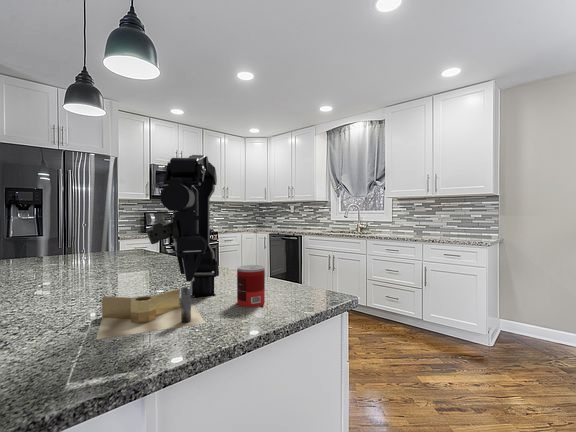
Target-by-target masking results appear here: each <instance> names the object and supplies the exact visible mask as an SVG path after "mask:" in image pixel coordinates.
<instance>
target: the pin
mask: <svg viewBox="0 0 576 432" xmlns="http://www.w3.org/2000/svg"><path fill="white" fill-rule="evenodd" d="M180 289H181V290H180V307H181V323H189V322H191V305H192V294H191V286H183V287H181V288H180Z"/></svg>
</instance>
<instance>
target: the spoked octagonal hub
mask: <svg viewBox="0 0 576 432" xmlns="http://www.w3.org/2000/svg"><path fill="white" fill-rule="evenodd" d="M101 300H102V301H101V302H102V303H101V305H102V306H101V307H102V308H101V309H102V310H101V311H102V313H101V314H102V315H101V316H102V317H101V319H102V318H117V319H131V323H137V324H140V323H147V322H151V321H153V320H155V319H156V316H157V315H160V314H163V313H166V312H169V311H172V310H175V309H178V308H179V307H180V289H179V288H176V289H173V290H169V291H165V292H162V293H158V294H154V295H140V296H136V297H127V296H126V297H125V296H124V297H123V296H102V297H101Z"/></svg>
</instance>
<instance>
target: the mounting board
mask: <svg viewBox="0 0 576 432" xmlns="http://www.w3.org/2000/svg"><path fill="white" fill-rule="evenodd" d="M100 321H101V322H100V324H99V328H98V332H97V335H96V338H95V340H97V341H98V340H102V339H103V340H105V339H111V338H116V337H123V336H131V335H135V334H143V333H149V332H155V331H156V332H157V331H164V330H169V329H176V328H184V327H191V326H195V325H202V324H207V322H206V321H205V319H204V318H203V316H202V315H201V313H200V312H199V311H198V309H197V307H196V306H195V304H191V322H189V323H181V306H179V308H178V309H175V310H172V311H169V312H166V313H163V314H160V315H157V316H156V319H155V320H153V321H151V322H147V323H140V324H137V323H131V319H117V318H102V317H101V320H100Z"/></svg>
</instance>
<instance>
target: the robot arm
mask: <svg viewBox="0 0 576 432" xmlns="http://www.w3.org/2000/svg"><path fill="white" fill-rule="evenodd" d="M208 158H209V157H208V156H207V155H204V154H203V155H201V154H192V155H189V157H171V158H170V160H169V162H167V166H166V169H165V174H164V177H163V185H164V188H163V189H162V190H161V194H160V202H161V204H162V206H163V207H164V208H166V210H168V211H172V215H171V216H170V222H169V221H168V222H166V223H163V224H162V223H161V222H158V223H156V224H152V228H151V227H150V228H149V229H147V230H145V231H146V235H147V237H148V239H149V242H150V244H151V245H155V244H158V243H159V242H160V241H163V240H166V239H167V245H169V248H170V249H172V251H174V253H175V254H176V260H177V263H178V268H179V272H180V275H184V276H185V281H186V282H190V287H191V297H193V298H194V299H201V298H202V299H203V298H208V297H216V296H217V295H216V293H215V278H217V277H219V276H220V270H219V268H220V267H219V262H218V260H217V257H215V255H216V254H215V251H214V249H213V248H212V246H211V244H210V241H211V240H210V239H211V237H210V236H211V235H210V234H211V233H210V230H211V229H210V220H211V219H210V218H211V217H210V216H211V215H210V213H211V212H210V210H211V209H210V207H211V206H210V199H211V197H212V196H213V194H214V193H215V189H216V186H217V184H218V183H217V182H218V179H217V178H218V176H217V170H216V167H215V166H214V165H213V164H212V163H211V162H210V161H209V159H208Z"/></svg>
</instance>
